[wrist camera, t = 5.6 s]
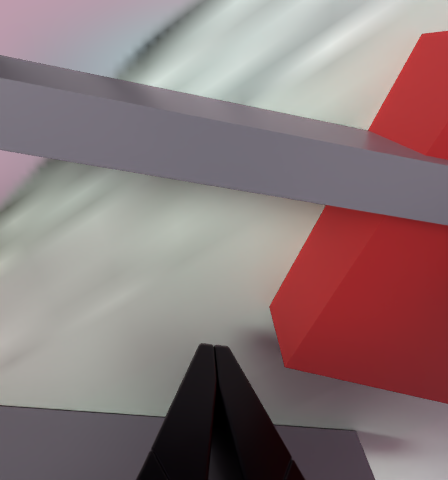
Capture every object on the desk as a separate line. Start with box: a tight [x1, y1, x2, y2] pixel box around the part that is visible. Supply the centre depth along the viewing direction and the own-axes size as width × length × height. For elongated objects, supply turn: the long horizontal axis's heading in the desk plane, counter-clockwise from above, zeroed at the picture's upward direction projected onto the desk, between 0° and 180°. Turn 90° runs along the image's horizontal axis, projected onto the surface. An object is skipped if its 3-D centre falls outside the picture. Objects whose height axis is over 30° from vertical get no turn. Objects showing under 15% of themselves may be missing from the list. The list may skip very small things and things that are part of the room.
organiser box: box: [0, 55, 448, 480], centre depth 9 cm, size 13×25×3 cm, turn 79°
